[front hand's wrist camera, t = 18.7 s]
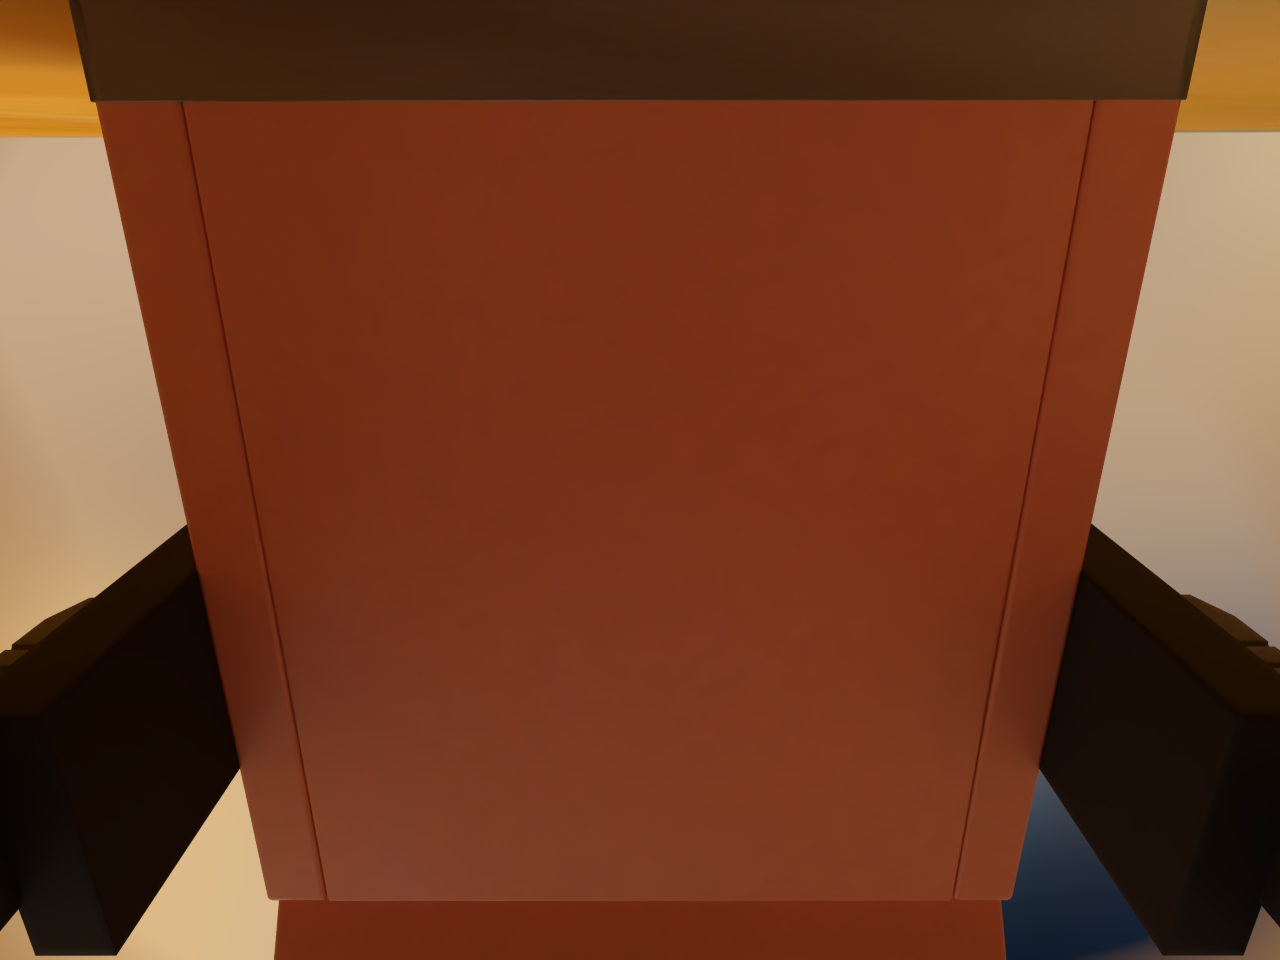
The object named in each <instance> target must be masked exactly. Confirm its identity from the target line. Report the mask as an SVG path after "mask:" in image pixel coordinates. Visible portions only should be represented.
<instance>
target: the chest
mask: <svg viewBox="0 0 1280 960" xmlns="http://www.w3.org/2000/svg"><path fill="white" fill-rule="evenodd" d="M1207 1H1208V0H69V5H70V9H71V14H72V18H73V23H74V28H75V32H76V37H77V41H78V46H79V50H80V55H81V60H82V64H83V69H84V73H85V78H86V82H87V87H88V92H89V96H90V100H91V102H96V105H97V110H98V115H99V119H100V124H101V129H102V133H103V138H104V142H105V147H106V151H107V156H108V161H109V165H110V170H111V175H112V179H113V183H114V188H115V193H116V198H117V202H118V207H119V212H120V216H121V221H122V226H123V230H124V235H125V239H126V244H127V249H128V253H129V258H130V262H131V267H132V272H133V276H134V281H135V286H136V290H137V295H138V299H139V304H140V309H141V313H142V317H143V322H144V327H145V332H146V336H147V341H148V346H149V350H150V355H151V359H152V364H153V369H154V373H155V378H156V383H157V387H158V392H159V396H160V401H161V406H162V410H163V415H164V419H165V424H166V429H167V433H168V438H169V442H170V447H171V452H172V456H173V461H174V466H175V470H176V475H177V479H178V484H179V489H180V493H181V498H182V502H183V507H184V512H185V516H186V521H187V526H188V530H189V535H190V540H191V544H192V549H193V553H194V558H195V563H196V567H197V571H198V576H199V581H200V585H201V590H202V595H203V599H204V604H205V609H206V613H207V618H208V622H209V627H210V632H211V636H212V641H213V646H214V650H215V655H216V660H217V664H218V669H219V673H220V678H221V683H222V687H223V692H224V697H225V701H226V706H227V710H228V715H229V720H230V724H231V729H232V733H233V738H234V743H235V747H236V752H237V757H238V761H239V766H240V770H241V775H242V780H243V784H244V789H245V793H246V798H247V803H248V807H249V812H250V817H251V821H252V826H253V830H254V835H255V840H256V844H257V849H258V853H259V858H260V863H261V867H262V872H263V877H264V881H265V886H266V890H267V895H268V898H269V899H271V900H323V899H325V898H326V897H328V900H330V901H949V900H951V899H952V895H953V897H954V898H955V899H958V900H1008V899H1010V898H1011V897H1012V893H1013V889H1014V884H1015V879H1016V875H1017V870H1018V865H1019V860H1020V856H1021V851H1022V846H1023V842H1024V837H1025V832H1026V827H1027V823H1028V818H1029V813H1030V809H1031V804H1032V799H1033V795H1034V790H1035V785H1036V780H1037V776H1038V771H1039V766H1040V762H1041V757H1042V752H1043V747H1044V743H1045V738H1046V733H1047V729H1048V724H1049V719H1050V715H1051V710H1052V705H1053V700H1054V696H1055V691H1056V686H1057V682H1058V677H1059V672H1060V667H1061V663H1062V658H1063V653H1064V649H1065V644H1066V639H1067V634H1068V630H1069V625H1070V620H1071V616H1072V611H1073V606H1074V602H1075V597H1076V592H1077V587H1078V583H1079V578H1080V573H1081V569H1082V564H1083V559H1084V554H1085V550H1086V545H1087V540H1088V536H1089V531H1090V526H1091V521H1092V517H1093V512H1094V507H1095V503H1096V498H1097V493H1098V488H1099V484H1100V479H1101V474H1102V470H1103V465H1104V460H1105V455H1106V451H1107V446H1108V441H1109V437H1110V432H1111V427H1112V423H1113V418H1114V413H1115V408H1116V404H1117V399H1118V394H1119V389H1120V385H1121V380H1122V375H1123V371H1124V366H1125V361H1126V357H1127V352H1128V347H1129V342H1130V338H1131V333H1132V328H1133V324H1134V319H1135V314H1136V310H1137V305H1138V300H1139V295H1140V291H1141V286H1142V281H1143V277H1144V272H1145V267H1146V262H1147V258H1148V253H1149V248H1150V244H1151V239H1152V234H1153V229H1154V225H1155V220H1156V215H1157V211H1158V206H1159V201H1160V196H1161V192H1162V187H1163V182H1164V177H1165V173H1166V168H1167V164H1168V159H1169V154H1170V149H1171V145H1172V140H1173V135H1174V131H1175V126H1176V121H1177V116H1178V112H1179V107H1180V102H1181V101H1182V100H1186V98H1187V94H1188V89H1189V85H1190V80H1191V75H1192V71H1193V66H1194V61H1195V57H1196V52H1197V47H1198V43H1199V38H1200V33H1201V29H1202V24H1203V19H1204V15H1205V10H1206V5H1207Z"/></svg>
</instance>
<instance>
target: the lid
mask: <svg viewBox="0 0 1280 960" xmlns="http://www.w3.org/2000/svg"><path fill="white" fill-rule="evenodd" d="M274 960H1006V953H1005V942H1004V930H1003V919H1002V907H1001V900H958V899H955V898H954V897H953V895H952V899H951V900H949V901H330V900H328V897H326V898H325V899H323V900H279V907H278V919H277V931H276V943H275V954H274Z"/></svg>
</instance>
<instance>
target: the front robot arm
mask: <svg viewBox="0 0 1280 960" xmlns="http://www.w3.org/2000/svg"><path fill="white" fill-rule="evenodd" d="M239 769H240V766H239V761H238V757H237V752H236V747H235V743H234V738H233V733H232V729H231V724H230V720H229V715H228V710H227V706H226V701H225V697H224V692H223V687H222V683H221V678H220V673H219V669H218V664H217V660H216V655H215V650H214V646H213V641H212V636H211V632H210V627H209V622H208V618H207V613H206V609H205V604H204V599H203V595H202V590H201V585H200V581H199V576H198V571H197V567H196V563H195V558H194V553H193V549H192V544H191V540H190V535H189V530H188V526H187V525H185V526H184V527H183V528H182V529H180V530H179V531H178V532H177V533H175V534H174V535H173V536H172V537H170V538H169V539H168V540H167V541H165V542H164V543H163V544H162V545H160V546H159V547H158V548H157V549H155V550H154V551H153V552H152V553H150V554H149V555H148V556H146V557H145V558H144V559H143V560H141V561H140V562H139V563H138V564H136V565H135V566H134V567H133V568H131V569H130V570H129V571H128V572H126V573H125V574H124V575H123V576H121V577H120V578H119V579H118V580H116V581H115V582H114V583H113V584H111V585H110V586H109V587H107V588H106V589H105V590H104V591H102V592H101V593H100V594H99V595H97V596H96V597H95V598H88V599H86V600H84V601H82V602H80V603H78V604H76V605H74V606H72V607H70V608H68V609H66V610H64V611H62V612H59V613H57V614H55V615H53V616H51V617H49V618H47V619H45V620H44V621H42V622H41V623H40V624H38V625H37V626H36V627H35V628H33V629H32V630H31V631H29V632H28V633H27V634H25V635H24V636H23V637H21V638H20V639H19V640H18V641H16V642H15V643H14V644H12V649H11V650H5V651H3V652H2V653H1V654H0V931H1V930H2V928H3V927H4V926H5V925H6V924H7V922H8V921H9V920H10V919H11V918H12V916H13V915H14V914H15V913H16V912H17V910H18V909H19V912H20V914H21V917H22V920H23V923H24V925H25V928H26V931H27V933H28V936H29V939H30V942H31V944H32V947H33V950H34V953H35V955H36V956H116V955H117V954H118V952H119V951H120V949H121V948H122V946H123V945H124V943H125V942H126V940H127V938H128V937H129V936H130V934H131V932H132V931H133V929H134V928H135V926H136V925H137V923H138V922H139V920H140V919H141V917H142V916H143V914H144V913H145V911H146V910H147V908H148V907H149V905H150V904H151V902H152V901H153V899H154V898H155V896H156V895H157V893H158V892H159V890H160V889H161V887H162V886H163V884H164V883H165V881H166V879H167V878H168V877H169V875H170V873H171V872H172V870H173V869H174V867H175V866H176V864H177V863H178V861H179V860H180V858H181V857H182V855H183V854H184V852H185V851H186V849H187V848H188V846H189V845H190V843H191V842H192V840H193V839H194V837H195V836H196V834H197V833H198V831H199V830H200V828H201V826H202V825H203V824H204V822H205V821H206V819H207V818H208V816H209V814H210V813H211V811H212V810H213V808H214V807H215V805H216V804H217V802H218V801H219V799H220V798H221V796H222V795H223V793H224V792H225V790H226V789H227V787H228V786H229V784H230V783H231V781H232V780H233V778H234V777H235V775H236V774H237V772H238V770H239ZM1039 769H1040V770H1041V772H1042V773H1043V775H1044V776H1045V778H1046V779H1047V781H1048V782H1049V784H1050V785H1051V787H1052V788H1053V790H1054V791H1055V793H1056V794H1057V796H1058V798H1059V799H1060V800H1061V802H1062V804H1063V805H1064V807H1065V808H1066V810H1067V811H1068V813H1069V814H1070V816H1071V817H1072V819H1073V820H1074V822H1075V823H1076V825H1077V826H1078V828H1079V829H1080V831H1081V832H1082V834H1083V835H1084V837H1085V838H1086V840H1087V841H1088V843H1089V844H1090V846H1091V847H1092V849H1093V850H1094V852H1095V854H1096V855H1097V856H1098V858H1099V860H1100V861H1101V863H1102V864H1103V866H1104V867H1105V869H1106V870H1107V872H1108V873H1109V875H1110V876H1111V878H1112V879H1113V881H1114V882H1115V884H1116V885H1117V887H1118V888H1119V890H1120V891H1121V893H1122V894H1123V896H1124V897H1125V899H1126V901H1127V902H1128V904H1129V905H1130V906H1131V908H1132V910H1133V911H1134V913H1135V914H1136V916H1137V917H1138V919H1139V920H1140V922H1141V923H1142V925H1143V926H1144V928H1145V929H1146V931H1147V932H1148V934H1149V935H1150V937H1151V938H1152V940H1153V941H1154V943H1155V944H1156V946H1157V947H1158V949H1159V950H1160V952H1161V953H1162V955H1244V952H1245V950H1246V947H1247V944H1248V941H1249V939H1250V936H1251V933H1252V930H1253V928H1254V925H1255V922H1256V919H1257V917H1258V914H1259V911H1260V908H1261V906H1262V907H1263V908H1264V909H1265V910H1266V911H1267V913H1268V914H1269V915H1270V916H1271V917H1272V919H1273V920H1274V921H1275V922H1276V923H1277V925H1278V926H1279V927H1280V650H1279V649H1277V648H1276V647H1269V646H1268V641H1267V640H1265V639H1264V638H1263V637H1261V636H1260V635H1259V634H1257V633H1256V632H1255V631H1254V630H1252V629H1251V628H1250V627H1248V626H1247V625H1246V624H1244V623H1243V622H1242V621H1240V620H1239V619H1238V618H1236V617H1235V616H1233V615H1231V614H1229V613H1227V612H1225V611H1223V610H1221V609H1219V608H1216V607H1214V606H1212V605H1210V604H1208V603H1206V602H1204V601H1202V600H1200V599H1198V598H1196V597H1194V596H1191V595H1180V594H1179V593H1178V592H1177V591H1175V590H1174V589H1173V588H1172V587H1170V586H1169V585H1168V584H1167V583H1165V582H1164V581H1163V580H1162V579H1160V578H1159V577H1158V576H1157V575H1155V574H1154V573H1153V572H1152V571H1150V570H1149V569H1148V568H1146V567H1145V566H1144V565H1143V564H1141V563H1140V562H1139V561H1138V560H1136V559H1135V558H1134V557H1133V556H1131V555H1130V554H1129V553H1128V552H1126V551H1125V550H1124V549H1123V548H1121V547H1120V546H1119V545H1118V544H1116V543H1115V542H1114V541H1113V540H1111V539H1110V538H1109V537H1107V536H1106V535H1105V534H1104V533H1103V532H1101V531H1100V530H1099V529H1097V528H1096V527H1095V526H1094V525H1092V524H1091V526H1090V531H1089V536H1088V540H1087V545H1086V550H1085V554H1084V559H1083V564H1082V569H1081V573H1080V578H1079V583H1078V587H1077V592H1076V597H1075V602H1074V606H1073V611H1072V616H1071V620H1070V625H1069V630H1068V634H1067V639H1066V644H1065V649H1064V653H1063V658H1062V663H1061V667H1060V672H1059V677H1058V682H1057V686H1056V691H1055V696H1054V700H1053V705H1052V710H1051V715H1050V719H1049V724H1048V729H1047V733H1046V738H1045V743H1044V747H1043V752H1042V757H1041V762H1040V766H1039Z"/></svg>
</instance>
